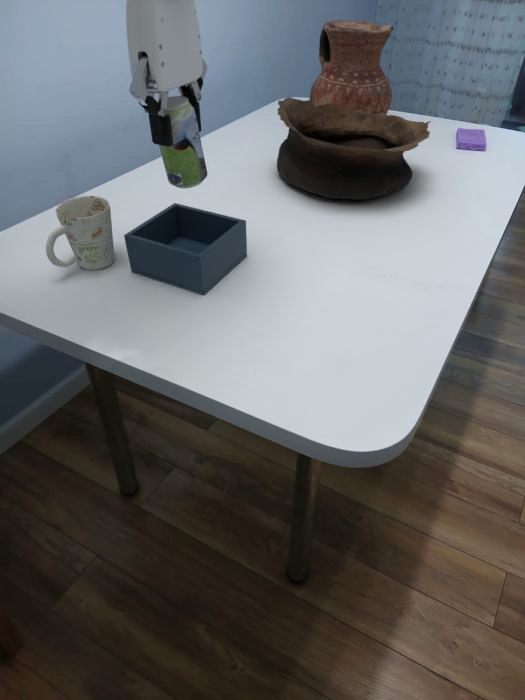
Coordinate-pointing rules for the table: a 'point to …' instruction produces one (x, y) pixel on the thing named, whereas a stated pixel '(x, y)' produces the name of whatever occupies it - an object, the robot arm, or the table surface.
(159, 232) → the bin
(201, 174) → the beverage can
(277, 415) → the table surface
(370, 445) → the table surface
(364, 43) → the jug
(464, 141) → the sponge
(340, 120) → the bowl
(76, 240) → the mug
